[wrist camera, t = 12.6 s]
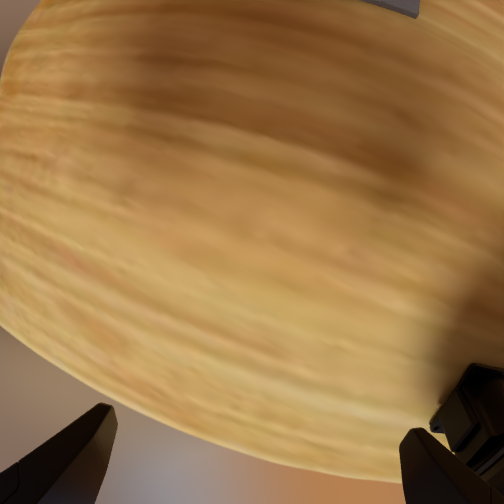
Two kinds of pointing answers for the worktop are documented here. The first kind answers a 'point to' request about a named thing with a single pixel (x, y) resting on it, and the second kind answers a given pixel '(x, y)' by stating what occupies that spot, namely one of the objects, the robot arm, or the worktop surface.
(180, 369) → the worktop surface
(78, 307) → the worktop surface
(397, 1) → the charcoal mat
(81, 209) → the worktop surface
